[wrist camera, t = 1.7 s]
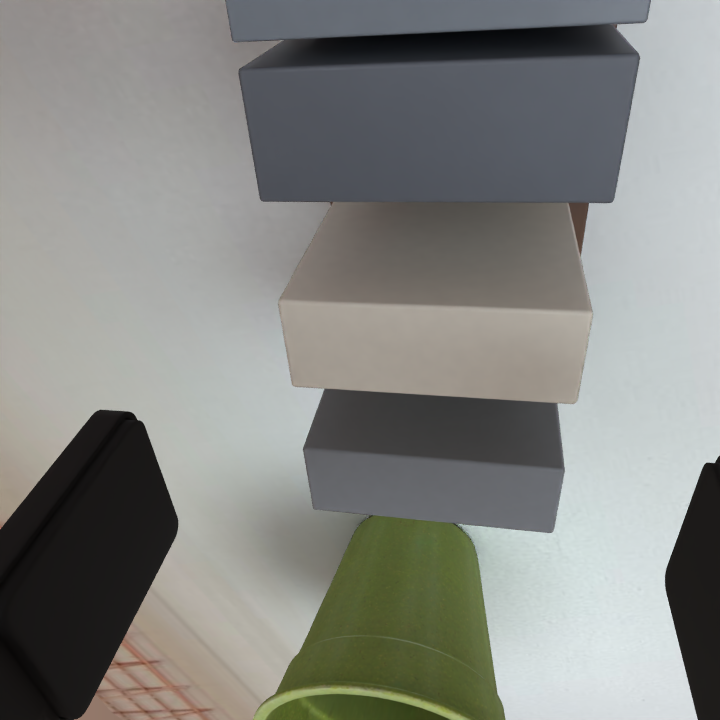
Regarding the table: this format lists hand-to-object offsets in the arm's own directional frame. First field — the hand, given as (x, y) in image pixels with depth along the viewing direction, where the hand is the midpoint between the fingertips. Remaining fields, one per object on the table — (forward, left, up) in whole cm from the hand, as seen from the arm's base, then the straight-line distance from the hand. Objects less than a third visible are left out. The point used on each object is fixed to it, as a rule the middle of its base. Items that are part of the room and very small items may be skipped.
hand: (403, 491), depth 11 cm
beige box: (0, 0, -14) cm, 14 cm away
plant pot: (+21, -2, -15) cm, 26 cm away
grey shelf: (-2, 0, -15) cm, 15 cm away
